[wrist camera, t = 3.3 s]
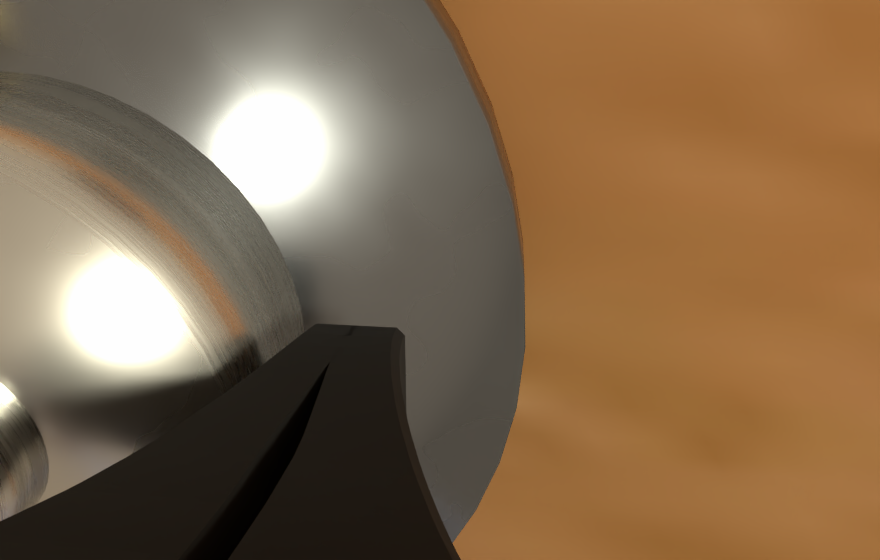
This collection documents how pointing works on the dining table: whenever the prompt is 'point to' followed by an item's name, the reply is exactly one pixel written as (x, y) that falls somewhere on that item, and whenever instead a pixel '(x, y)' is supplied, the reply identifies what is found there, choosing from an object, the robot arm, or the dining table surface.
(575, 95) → the dining table surface
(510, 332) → the disc
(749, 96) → the dining table surface
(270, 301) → the cover
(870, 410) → the dining table surface
